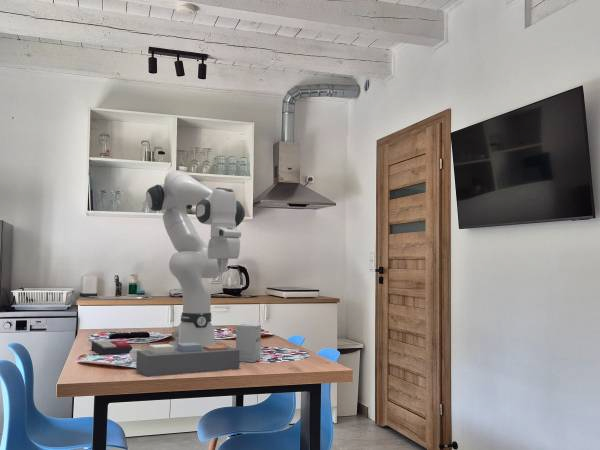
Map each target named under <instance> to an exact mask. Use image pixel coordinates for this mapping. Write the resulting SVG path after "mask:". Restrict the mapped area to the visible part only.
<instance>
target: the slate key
mask: <svg viewBox="0 0 600 450" xmlns="http://www.w3.org/2000/svg"><path fill="white" fill-rule="evenodd" d="M177 350H178V351H180V352H182V353H183V352H198V351H201V345H200V344H198V343H177Z"/></svg>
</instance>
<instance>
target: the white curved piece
mask: <svg viewBox="0 0 600 450" xmlns="http://www.w3.org/2000/svg"><path fill="white" fill-rule="evenodd" d="M137 351H141V349H140V348H132V350H131V351H130V354H129V356H130V359H131V360H133V361H132V362H136V361H137ZM128 359H129V358H127V359H124V360H123V362H125V361H126V360H128ZM127 363H131V361H130V360H128V361H127Z"/></svg>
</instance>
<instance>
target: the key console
mask: <svg viewBox="0 0 600 450" xmlns="http://www.w3.org/2000/svg"><path fill="white" fill-rule="evenodd" d="M224 346H225V347H227V350H214V351H209V350H206V349H203V347H201V351H198V352H183V353H182V352H180V351H178V350H177V348H174V353H167V354H152V353H150V352H149V349H145V350H144V349H143V350H141V351H137V361H135V363H136V367H135V370H136V371H137V372H139V373H140V374H142V375H144V376H146V377H159V376H161V377H162V376H169V375H182V374H193V373H194V374H195V372H196V373H207V372H206V371H208V372H216V371H218V370H220V371H229V370H228V369H232V370H239V369H240V361H239V350H237V349H236V348H234V347H230V346H228V345H224Z"/></svg>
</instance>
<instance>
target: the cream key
mask: <svg viewBox="0 0 600 450" xmlns="http://www.w3.org/2000/svg"><path fill="white" fill-rule="evenodd" d="M148 350H149V352H150V353H152V354H167V353H174V346H172V345H169V343H166V344H165V343H161V344H149V346H148Z"/></svg>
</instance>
